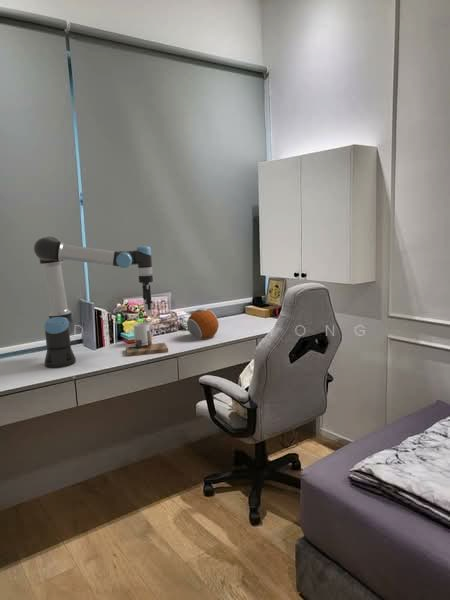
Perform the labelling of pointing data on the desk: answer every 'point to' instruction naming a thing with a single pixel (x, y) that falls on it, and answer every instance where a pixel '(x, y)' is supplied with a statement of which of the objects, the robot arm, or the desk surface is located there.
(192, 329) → the orange ball
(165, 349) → the wooden board
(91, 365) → the desk surface
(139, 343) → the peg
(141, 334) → the mug
